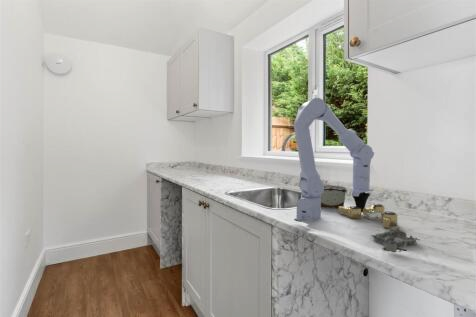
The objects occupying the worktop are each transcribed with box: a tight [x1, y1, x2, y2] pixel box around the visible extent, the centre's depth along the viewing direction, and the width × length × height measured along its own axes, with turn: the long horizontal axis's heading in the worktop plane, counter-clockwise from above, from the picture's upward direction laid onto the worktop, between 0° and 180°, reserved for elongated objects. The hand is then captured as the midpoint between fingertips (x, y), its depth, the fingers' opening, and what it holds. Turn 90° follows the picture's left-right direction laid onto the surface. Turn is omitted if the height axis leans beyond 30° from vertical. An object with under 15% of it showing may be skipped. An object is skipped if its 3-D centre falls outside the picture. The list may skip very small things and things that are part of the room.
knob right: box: [381, 210, 399, 229], centre depth 83 cm, size 8×4×4 cm, turn 139°
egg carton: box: [370, 227, 421, 253], centre depth 69 cm, size 11×8×4 cm
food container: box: [321, 184, 348, 210], centre depth 109 cm, size 12×6×10 cm, turn 74°
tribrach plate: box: [365, 211, 382, 222], centre depth 91 cm, size 24×24×4 cm
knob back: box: [362, 203, 385, 218], centre depth 95 cm, size 8×4×4 cm, turn 108°
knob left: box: [337, 205, 362, 220], centre depth 94 cm, size 8×4×4 cm, turn 29°
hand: (360, 211), depth 96 cm, fingers closed, pressing on knob back
